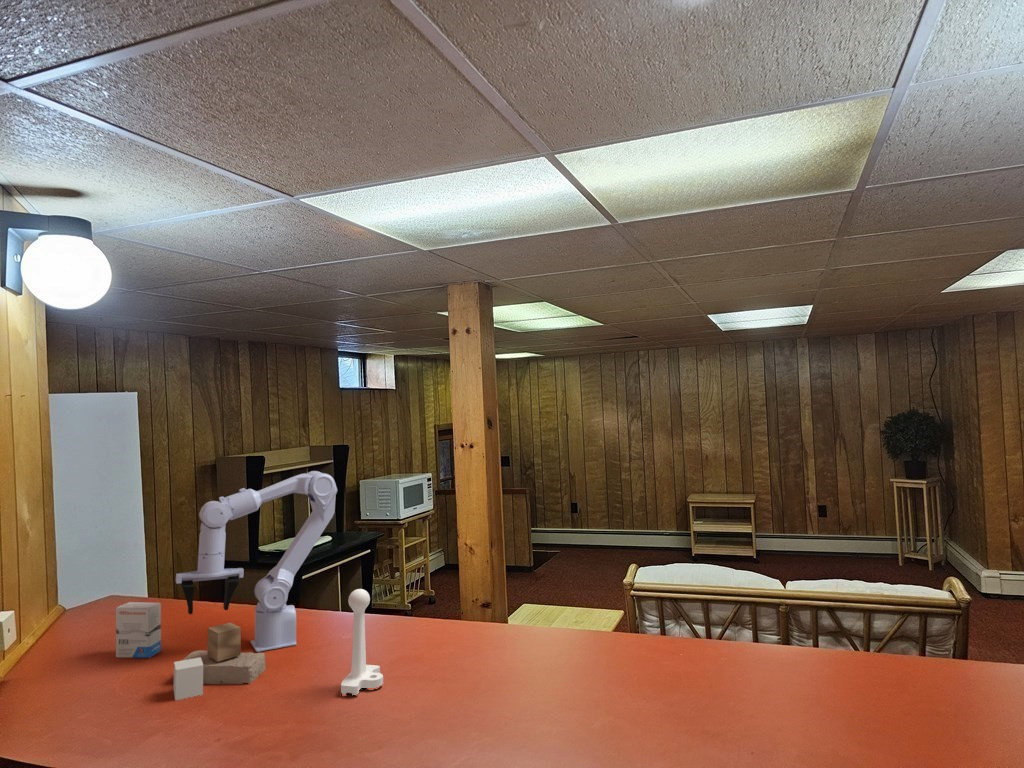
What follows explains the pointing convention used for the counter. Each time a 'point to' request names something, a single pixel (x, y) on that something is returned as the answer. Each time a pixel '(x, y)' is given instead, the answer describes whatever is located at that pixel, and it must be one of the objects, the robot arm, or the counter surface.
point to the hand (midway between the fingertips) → (208, 611)
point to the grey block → (188, 678)
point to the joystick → (360, 650)
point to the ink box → (138, 630)
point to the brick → (230, 668)
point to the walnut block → (224, 641)
